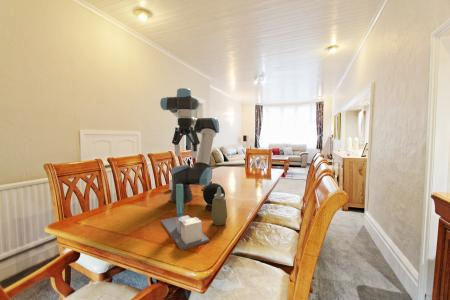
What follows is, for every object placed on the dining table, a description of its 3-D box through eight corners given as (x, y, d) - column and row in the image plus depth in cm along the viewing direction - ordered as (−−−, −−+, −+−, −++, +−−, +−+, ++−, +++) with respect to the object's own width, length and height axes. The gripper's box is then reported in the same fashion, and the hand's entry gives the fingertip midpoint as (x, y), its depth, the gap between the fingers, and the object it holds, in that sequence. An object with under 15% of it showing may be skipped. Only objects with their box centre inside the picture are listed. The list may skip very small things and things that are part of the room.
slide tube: (176, 225, 98) (175, 184, 96) (182, 223, 99) (181, 183, 98) (188, 239, 84) (187, 192, 83) (195, 237, 86) (194, 191, 84)
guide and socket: (161, 222, 105) (160, 205, 104) (183, 217, 111) (183, 201, 110) (181, 250, 79) (180, 228, 78) (209, 241, 85) (208, 221, 85)
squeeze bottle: (221, 228, 97) (221, 190, 96) (208, 224, 102) (207, 188, 100) (230, 221, 104) (230, 186, 103) (217, 218, 109) (216, 184, 107)
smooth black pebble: (222, 203, 132) (222, 180, 131) (227, 211, 119) (227, 185, 118) (201, 205, 129) (201, 181, 128) (204, 213, 116) (204, 187, 115)
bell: (209, 192, 158) (209, 183, 157) (198, 190, 166) (198, 181, 165) (219, 189, 167) (219, 180, 166) (209, 187, 174) (208, 178, 174)
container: (182, 188, 171) (182, 172, 170) (177, 190, 164) (177, 174, 163) (174, 187, 173) (174, 172, 172) (169, 190, 166) (168, 174, 165)
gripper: (164, 118, 118) (166, 156, 119) (195, 116, 102) (196, 159, 104) (175, 119, 123) (176, 155, 125) (205, 116, 108) (206, 157, 109)
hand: (185, 157), depth 114 cm, fingers open, 13 cm apart
